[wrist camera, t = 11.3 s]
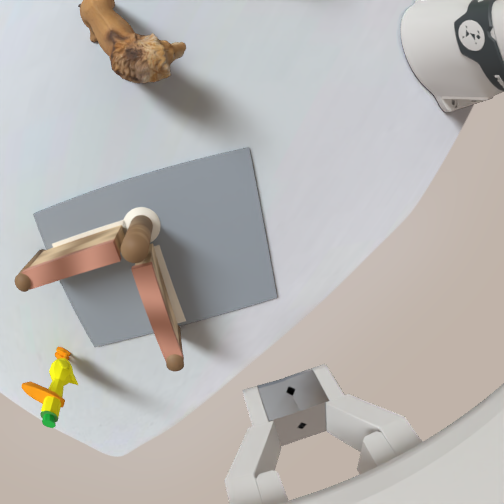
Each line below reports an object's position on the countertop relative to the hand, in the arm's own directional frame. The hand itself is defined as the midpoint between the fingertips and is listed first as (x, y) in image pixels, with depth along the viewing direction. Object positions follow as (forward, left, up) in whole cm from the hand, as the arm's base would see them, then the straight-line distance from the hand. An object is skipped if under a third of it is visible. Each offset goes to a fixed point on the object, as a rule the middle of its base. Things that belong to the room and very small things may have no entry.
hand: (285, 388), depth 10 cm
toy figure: (+24, +13, -24) cm, 36 cm away
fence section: (+13, 0, -24) cm, 27 cm away
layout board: (+6, +4, -24) cm, 25 cm away
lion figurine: (+4, -19, -25) cm, 32 cm away
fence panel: (+7, +7, -24) cm, 26 cm away
